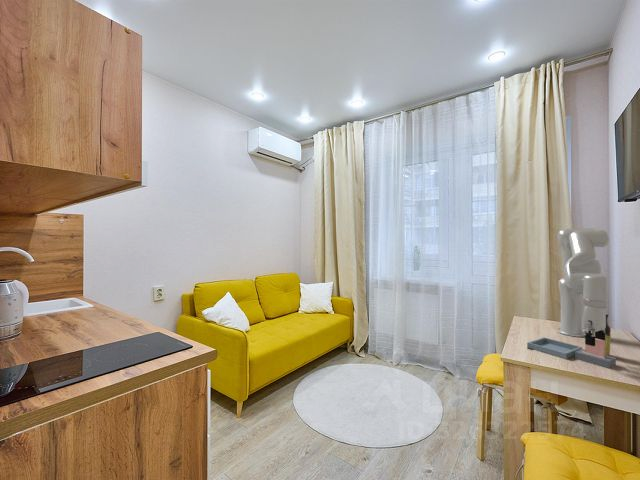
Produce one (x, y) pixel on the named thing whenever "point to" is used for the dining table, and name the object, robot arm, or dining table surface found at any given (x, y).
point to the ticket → (596, 348)
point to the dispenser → (595, 359)
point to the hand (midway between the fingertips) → (595, 343)
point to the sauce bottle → (607, 337)
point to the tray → (553, 347)
